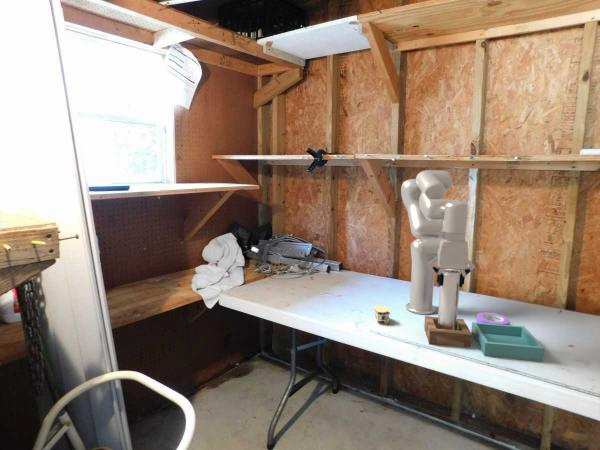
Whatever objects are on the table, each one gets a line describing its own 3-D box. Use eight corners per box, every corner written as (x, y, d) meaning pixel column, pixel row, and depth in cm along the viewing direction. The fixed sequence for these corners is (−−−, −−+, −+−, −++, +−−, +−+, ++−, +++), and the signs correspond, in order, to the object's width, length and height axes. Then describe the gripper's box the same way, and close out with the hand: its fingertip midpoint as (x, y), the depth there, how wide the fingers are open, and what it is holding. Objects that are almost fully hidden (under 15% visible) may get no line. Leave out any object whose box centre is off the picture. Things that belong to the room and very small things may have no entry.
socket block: (424, 328, 152) (424, 316, 151) (462, 331, 150) (463, 319, 149) (429, 344, 138) (430, 330, 138) (471, 348, 136) (472, 334, 135)
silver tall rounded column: (450, 332, 148) (456, 268, 144) (458, 340, 141) (464, 273, 137) (433, 332, 147) (438, 268, 143) (440, 340, 141) (445, 273, 137)
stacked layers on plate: (366, 318, 162) (366, 305, 161) (385, 316, 164) (386, 304, 164) (376, 327, 153) (376, 314, 152) (397, 326, 155) (397, 312, 154)
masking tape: (507, 324, 158) (508, 315, 157) (510, 335, 147) (511, 325, 147) (476, 319, 163) (476, 310, 162) (476, 329, 152) (477, 320, 151)
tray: (471, 333, 148) (472, 322, 147) (522, 337, 145) (523, 326, 144) (484, 355, 131) (485, 343, 130) (543, 361, 127) (544, 348, 127)
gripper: (429, 237, 136) (426, 287, 139) (482, 240, 133) (478, 290, 136) (426, 233, 144) (423, 280, 146) (477, 236, 141) (472, 284, 143)
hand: (449, 285), depth 141 cm, fingers closed on silver tall rounded column, 6 cm apart
